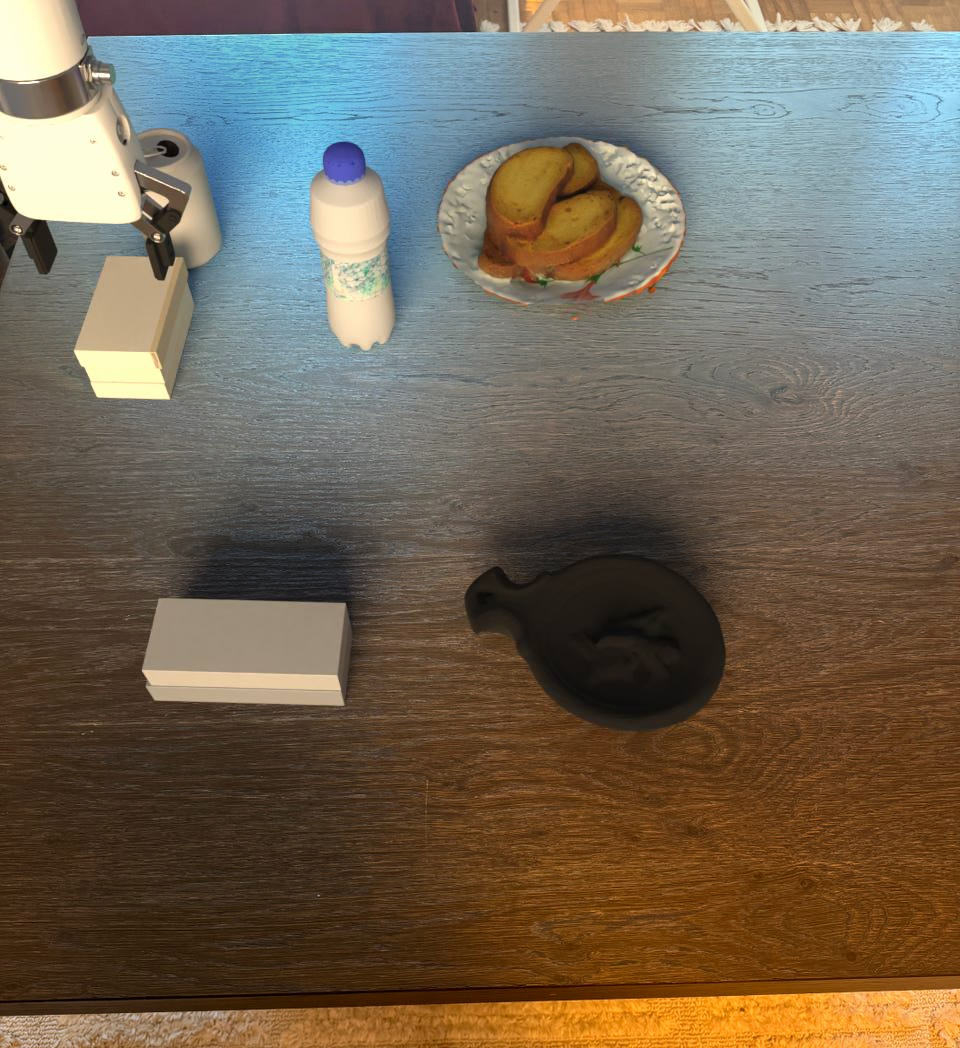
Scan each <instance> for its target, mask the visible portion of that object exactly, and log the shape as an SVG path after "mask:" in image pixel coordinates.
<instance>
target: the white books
mask: <svg viewBox="0 0 960 1048" xmlns="http://www.w3.org/2000/svg"><path fill="white" fill-rule="evenodd" d="M195 307H196V305H195V302H194V299H193V296H192V292H191V289H190V286H189V283H188V280H187V281H186V285H185V289H184V292H183V296H182V299H181V303H180V307H179V310H178V314H177V317H176V321H175V325H174V328H173V332H172V335H171V339H170V343H169V346H168V350H167V353H166V357H165V360H164V364H163V368H162V369H156V368H116V367H83V368H84V370H85V372H86V373H87V376H88V379H89V380H90V385H91V388H92V389H93V391H94V394H95V395H96V397H97V398H98V399H99V398H100V399H101V398H102V399H103V398H104V399H105V398H106V399H136V400H137V399H139V400H140V399H141V400H171V398H172V394H173V390H174V385H175V383H176V378H177V375H178V370H179V367H180V364H181V359H182V355H183V352H184V348H185V345H186V340H187V338H188V333H189V329H190V326H191V322H192V320H193V319H192V318H193V315H194V311H195Z"/></svg>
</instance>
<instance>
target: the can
mask: <svg viewBox="0 0 960 1048" xmlns="http://www.w3.org/2000/svg"><path fill="white" fill-rule="evenodd" d="M136 135H137V138H138V140H139V143H140V146H141V148H142V151H143V154H144V157H145V160H146V162H147V165H148V166H150V167H153V168H155V169H157V170H159V171H162V172H164V173H166V174H168V175H171V176H173V177H175V178H177V179H180V180H182V181H184V182H186V183H188V184H190V186H191V187H192V191H191V194H190V197H189V200H188V203H187V206H186V208H185V211H184V213H183V216H182V218H181V221H180V223H179V224H178V225H177V226H176V227H175V228H174V229H173V230H172V231H170V232H169V233H170V236H171V240H172V244H173V247H174V251H175V257H183V258H184V261H185V265H186V268H187V270H191V269H195V268H199V267H201V266H203V265H205V264H207V263H208V262H209V261H210V260H211V259H213V258H214V256H216V254H218V253H219V251H220V249H221V247H222V246H223V233H222V229H221V226H220V221H219V218H218V214H217V210H216V206H215V201H214V199H213V195H212V191H211V186H210V183H209V179H208V175H207V172H206V168H205V164H204V160H203V156H202V154H201V152H200V150H199V148H198V147H197V146H196V145H194V144H193V143H192V142H191V140H190V138H189V137H188V136H187V134H185V133H184V132H181V131H179V130H177V129H174V128H168V127H167V128H166V127H155V128H150V129H146V130H145V129H144V130H143V131H142V130H141V131H140V132H138V133H136ZM145 193H146V194H147V195H149V196H150V197H151V198H152V199H153V200H155V201H156V202H157V203H158V204H160V205H161V206H162V207H163V208H164V207H165V206H166V205H167V204H168V203H169V200H168V199H167V198H166V197H164V196H161V195H159V194H157V193H155V192H152V191H151V192H145ZM142 213H143V214H144V215H145V216H147V217H148V218H149V219H150V220H151V219H152V218H151V217H150V216H149V215H148V214H146V213H145V212H144V211H143V210H142ZM141 235H142V238H143V241H144V244H145V243H146V239H147V236H146V235H144V234H143V233H142V232H141Z"/></svg>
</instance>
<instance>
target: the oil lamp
mask: <svg viewBox="0 0 960 1048" xmlns="http://www.w3.org/2000/svg"><path fill="white" fill-rule="evenodd" d="M705 597H706V596H704V595H703V594H702V593H701V592H700V591H699V590H698V589H697V588H696V586H694V584H693V583H692V582H691V581H689V580H688V578H686V577H684V576H683V575H681V573H679V572H678V571H676V570H675V569H674V568H671V567H669V566H668V565H665V564H664V563H662V562H660V561H657V560H655V559H652V558H649V557H646V556H642V555H639V554H638V555H637V554H632V553H604V554H598V555H593V556H589V557H585V558H581V559H578V560H575V561H574V562H572V563H570V564H568V565H566V566H564V567H562V568H559V569H557V570H552V571H549V570H542V571H540V572H539V573H537V574H536V576H535V577H534V578H533V579H532V580H530V581H528V582H523V583H517V582H515V581H512V580H511V579H509V577H508V575H507V574H506V572H505V570H504V569H503V568H502V567H501V566H499V565H494V566H492V567H490V568H489V569H487V570H485V571H484V572H483V573H481V574H480V575H478V576H477V578H475V579H474V580H473V581H472V582H471V584H470V585H469V586H468V588H467V589H466V591H465V594H464V596H463V599H464V608H465V613H466V616H467V619H468V622H469V626H470V629H471V630H472V632H473V633H474V634H475V635H479V634H481V633H493V634H494V633H495V634H501V635H503V636H505V637H507V638H510V639H511V640H513V641H514V643H515V647H516V652H517V654H518V656H519V657H520V658H521V659H523V660H524V662H526V664H527V666H528V667H529V668H528V669H529V670H530V672H531V674H532V675H533V677H534V679H535V680H536V682H537V684H538V686H539V687H540V688H541V690H542V691H543V692H544V694H546V696H548V697H549V698H550V699H551V700H552V701H554V702H555V704H557V705H558V706H560V707H561V708H562V709H563V710H565V711H566V712H568V713H569V714H571V715H572V716H574V717H576V718H578V719H580V720H583V721H584V722H587V723H589V724H591V725H595V726H597V727H602V728H605V729H609V730H614V731H620V732H634V733H635V732H636V733H637V732H648V731H649V732H650V731H656V730H661V729H665V728H669V727H673V726H675V725H678V724H681V723H684V722H685V721H686V720H688V719H690V718H692V717H693V716H695V715H696V714H698V713H699V712H700V711H701V710H703V709H704V708H705V707H706V706H707V705H708V704H709V702H710V701H711V700H712V698H713V697H714V695H715V694H716V693H717V691H718V689H719V687H720V684H721V681H722V680H723V677H724V671H725V667H726V660H727V659H726V658H727V657H726V656H727V649H726V644H725V638H724V634H723V630H722V627H721V623H720V621H719V618H718V616H717V614H716V612H715V610H714V609H713V606H712V605H711V604H710V602H709V601H708V600H707V599H706V598H705Z"/></svg>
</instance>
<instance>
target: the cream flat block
mask: <svg viewBox="0 0 960 1048" xmlns="http://www.w3.org/2000/svg"><path fill="white" fill-rule="evenodd" d="M188 277H189V271H188V269H187V268H186V265H185V261H184V258H183V257H175V262H174V265H173V266H169V268H168V271H167V274H166V278H165V280H164V281H159V280H157V279H155V277H154V273H153V270H152V267H151V263H150V260H149V257H148V256H135V255H134V256H132V255H106V259H105V262H104V264H103V267H102V269H101V272H100V275H99V277H98V280H97V284H96V285H95V286H96V287H95V289H94V292H93V295H92V298H91V301H90V304H89V307H88V309H87V311H86V315H85V318H84V321H83V324H82V326H81V328H80V329H81V330H80V332H79V335H78V338H77V341H76V343H75V346H74V349H73V352H74V354H75V357H76V358H77V360H78V363H79V365H80V366H81V367H83V368H84V367H116V368H156V369H162V368H163V364H164V360H165V357H166V353H167V350H168V346H169V343H170V339H171V335H172V332H173V328H174V325H175V321H176V317H177V314H178V310H179V307H180V303H181V299H182V296H183V292H184V289H185V285H186V281H187V282H188Z"/></svg>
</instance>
